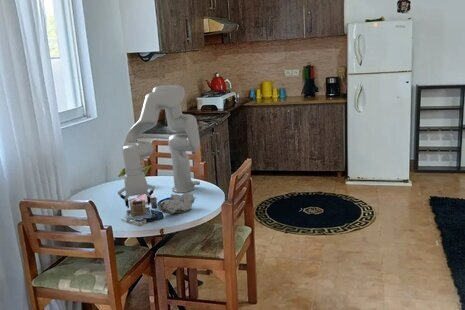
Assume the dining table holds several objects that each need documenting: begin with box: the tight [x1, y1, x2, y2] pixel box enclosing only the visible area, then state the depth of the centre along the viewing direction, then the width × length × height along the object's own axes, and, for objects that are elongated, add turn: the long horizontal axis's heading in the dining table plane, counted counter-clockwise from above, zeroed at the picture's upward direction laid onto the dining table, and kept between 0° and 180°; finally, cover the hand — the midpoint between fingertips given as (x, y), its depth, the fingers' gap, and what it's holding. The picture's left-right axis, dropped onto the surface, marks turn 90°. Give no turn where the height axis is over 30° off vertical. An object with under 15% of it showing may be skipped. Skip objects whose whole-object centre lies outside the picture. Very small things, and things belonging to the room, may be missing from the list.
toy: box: [117, 164, 153, 184], centre depth 267 cm, size 8×21×15 cm, turn 82°
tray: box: [125, 206, 153, 223], centre depth 218 cm, size 12×12×2 cm
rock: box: [157, 192, 195, 216], centre depth 220 cm, size 19×11×10 cm, turn 133°
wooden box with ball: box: [129, 199, 147, 217], centre depth 217 cm, size 8×7×6 cm
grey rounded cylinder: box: [150, 196, 158, 209], centre depth 229 cm, size 3×3×5 cm
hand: (138, 205), depth 218 cm, fingers open, 9 cm apart
